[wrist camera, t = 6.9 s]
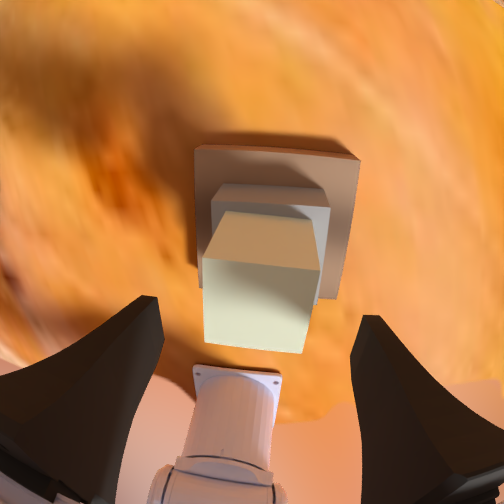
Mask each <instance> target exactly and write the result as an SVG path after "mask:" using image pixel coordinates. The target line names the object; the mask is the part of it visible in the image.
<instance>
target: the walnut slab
mask: <svg viewBox="0 0 504 504" xmlns="http://www.w3.org/2000/svg"><path fill="white" fill-rule="evenodd" d="M360 162H361V161H360V160H359V159H358V158H357V157H356V156H354V155H351V154H343V153H335V152H326V151H316V150H306V149H294V148H281V147H266V146H247V145H216V144H202V145H200V146H199V147H197V148H195V149H194V183H195V216H196V240H197V260H198V277H199V288H203V274H202V257H203V255H204V253H205V251H206V249H207V247H208V245H209V243H210V241H211V239H212V217H211V200H212V198H213V197H214V196H215V194H216V193H217V191H218V190H219V189H220V187H221V186H222V184H223V183H226V184H252V185H272V186H289V187H303V188H317V189H324V191H325V194H326V196H327V199H328V202H329V204H330V207H331V209H330V218H329V226H328V234H327V241H326V249H325V256H324V263H323V269H322V276H321V283H320V289H319V295H318V298H321V299H337V295H338V290H339V285H340V281H341V276H342V271H343V266H344V261H345V256H346V251H347V245H348V240H349V234H350V229H351V223H352V217H353V211H354V204H355V198H356V191H357V184H358V177H359V169H360Z"/></svg>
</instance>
